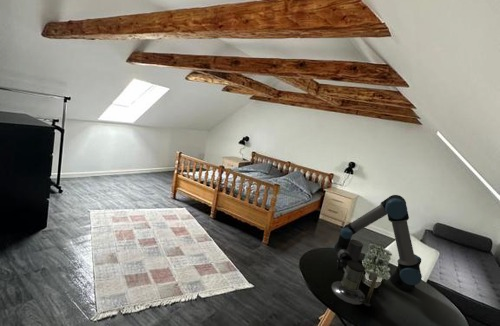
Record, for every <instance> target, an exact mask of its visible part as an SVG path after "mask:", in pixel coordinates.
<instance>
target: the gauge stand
mask: <svg viewBox="0 0 500 326" xmlns="http://www.w3.org/2000/svg"><path fill="white" fill-rule="evenodd" d="M378 276H379V275H378V274H377V273H375V272H371V271H369V275H368V279H369V281H371V284H370V287H369V290H368V292H367V295H366V297H365V300H363V304H362V305H364V306H365V307H369V308H370V307H371V305H372V304H371V302H370V300H371V298H372V295H373V292H374V289H375V286H376V283H377V281H378Z"/></svg>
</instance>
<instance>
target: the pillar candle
mask: <svg viewBox="0 0 500 326" xmlns="http://www.w3.org/2000/svg"><path fill="white" fill-rule="evenodd" d="M363 247H364V244H363V243H362V242H361V241H360V240H357V239H353V238H351V240H350V243H349V246H348V249H347V251H348V252H349V254H350V256H351V258H352V260H353V261H357V262H359V259H360V256H361V253H362V250H363Z"/></svg>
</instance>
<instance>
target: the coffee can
mask: <svg viewBox="0 0 500 326" xmlns="http://www.w3.org/2000/svg"><path fill="white" fill-rule="evenodd" d="M345 270H346V272H347V274H348V276H347V279H346V278H345V276H344V274H342V275H343V276H342V278H341V280H340V281H341V283H342V285H343V286H344V287H345V288H347V289H348V290H351V291H357V290H358V289H360V288H359V287H360V284H361V282H362V276H363V273H364V271H366V267H365V266H364V265H363V264H362V263H360V262H359V261H358V262H357V261H353V260H349V261H348V262H347V265H346V266H345Z"/></svg>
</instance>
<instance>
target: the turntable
mask: <svg viewBox="0 0 500 326" xmlns="http://www.w3.org/2000/svg"><path fill="white" fill-rule="evenodd" d="M341 281H342V280H337V281H334V282H333V283H332V284H331V291H332V292H333V294H334V295H335V296H336V297H338V299H339V300H341V301H343V302H345V303H347V304H351V305H357V306H359V305H364V304H363V300H366V295H365V294H364V292H363V291H362V290H361V289H360V288H358V290H357V291H351V290H348V289H347V288H345V287H344V286H343V285H342V283H341Z"/></svg>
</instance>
